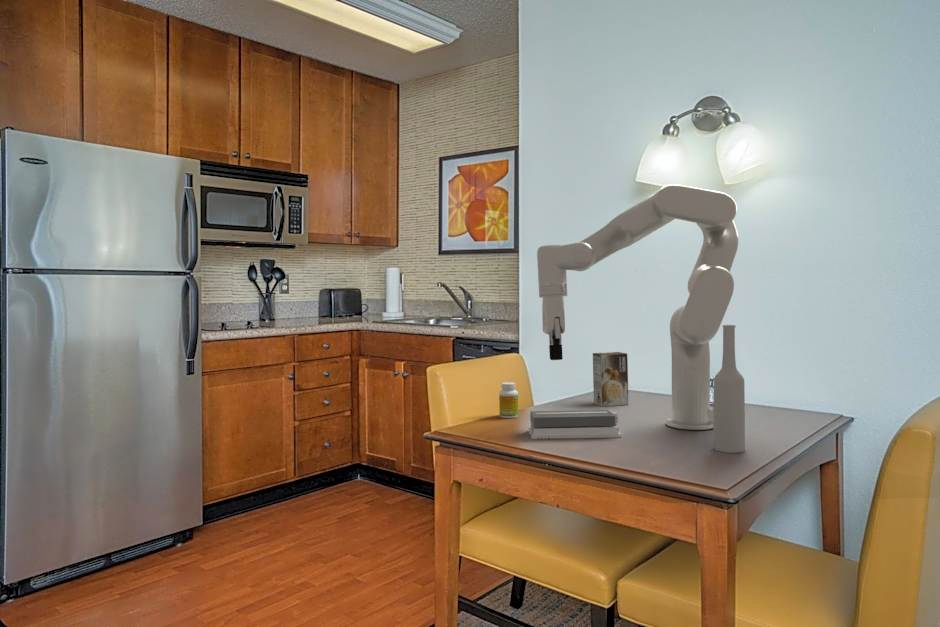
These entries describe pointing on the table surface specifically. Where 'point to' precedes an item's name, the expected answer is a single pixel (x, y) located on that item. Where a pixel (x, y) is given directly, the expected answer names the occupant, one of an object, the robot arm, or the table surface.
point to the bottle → (729, 400)
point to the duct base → (574, 432)
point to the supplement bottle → (508, 400)
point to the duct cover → (573, 418)
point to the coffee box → (610, 378)
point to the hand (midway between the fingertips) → (556, 359)
